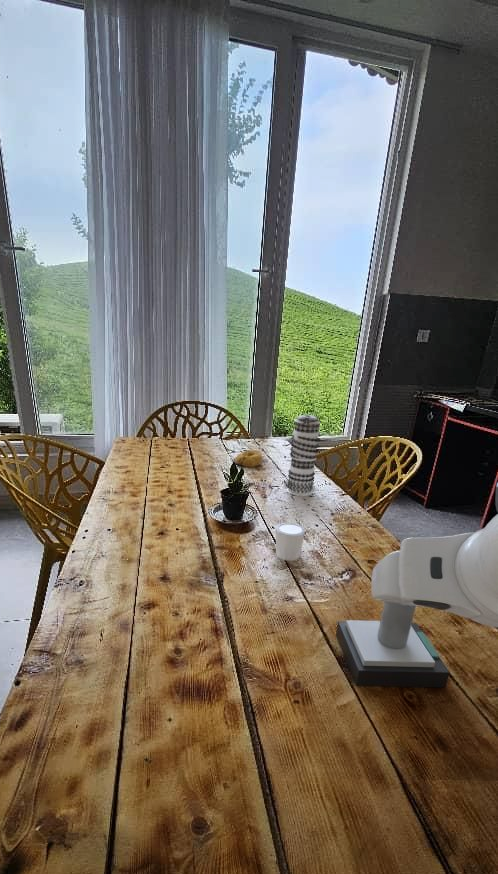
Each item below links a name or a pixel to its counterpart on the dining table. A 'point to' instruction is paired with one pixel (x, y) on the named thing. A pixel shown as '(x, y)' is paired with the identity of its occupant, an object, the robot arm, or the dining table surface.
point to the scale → (389, 657)
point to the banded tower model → (303, 455)
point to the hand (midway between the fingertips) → (446, 604)
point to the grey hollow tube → (395, 624)
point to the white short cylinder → (289, 541)
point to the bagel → (249, 458)
